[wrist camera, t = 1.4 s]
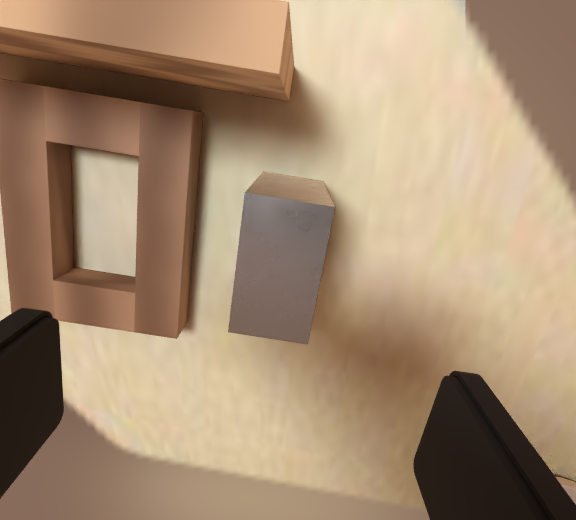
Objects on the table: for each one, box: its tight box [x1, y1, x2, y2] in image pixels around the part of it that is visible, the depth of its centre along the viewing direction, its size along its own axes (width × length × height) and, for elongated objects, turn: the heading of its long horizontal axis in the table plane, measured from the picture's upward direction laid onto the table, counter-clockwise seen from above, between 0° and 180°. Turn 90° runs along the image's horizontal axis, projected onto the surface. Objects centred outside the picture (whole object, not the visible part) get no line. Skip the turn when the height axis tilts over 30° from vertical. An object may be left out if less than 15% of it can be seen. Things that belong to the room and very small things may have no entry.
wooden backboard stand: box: [0, 0, 294, 339], centre depth 20 cm, size 22×18×12 cm
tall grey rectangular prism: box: [228, 171, 335, 344], centre depth 22 cm, size 4×7×9 cm, turn 171°
